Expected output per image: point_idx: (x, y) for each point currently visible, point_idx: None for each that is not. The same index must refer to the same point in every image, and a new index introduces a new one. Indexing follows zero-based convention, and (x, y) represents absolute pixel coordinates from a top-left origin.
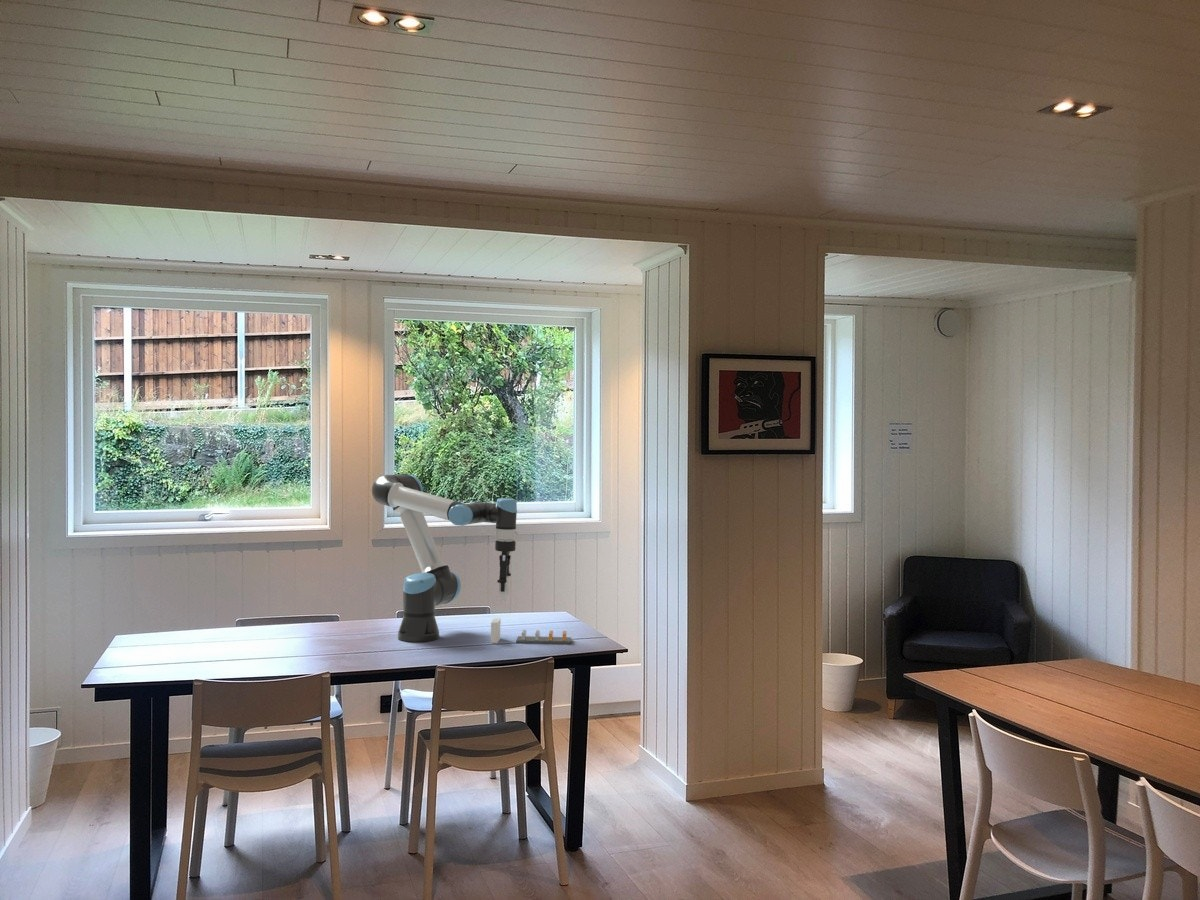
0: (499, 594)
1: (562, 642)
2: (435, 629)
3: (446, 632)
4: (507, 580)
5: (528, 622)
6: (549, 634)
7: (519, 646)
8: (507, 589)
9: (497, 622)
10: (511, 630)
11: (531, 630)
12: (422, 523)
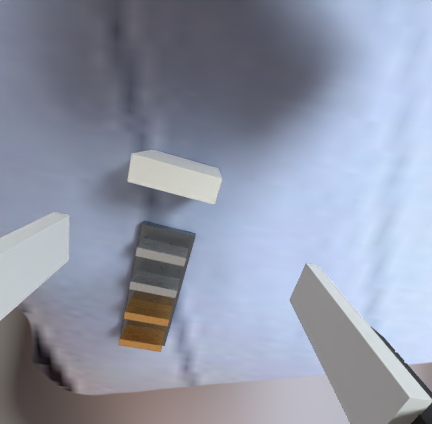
0: (16, 235)
1: (123, 321)
2: None
3: (356, 9)
4: (343, 390)
5: (391, 287)
6: (125, 311)
7: (108, 223)
8: (303, 317)
9: (132, 180)
10: (312, 234)
11: (296, 280)
12: None
